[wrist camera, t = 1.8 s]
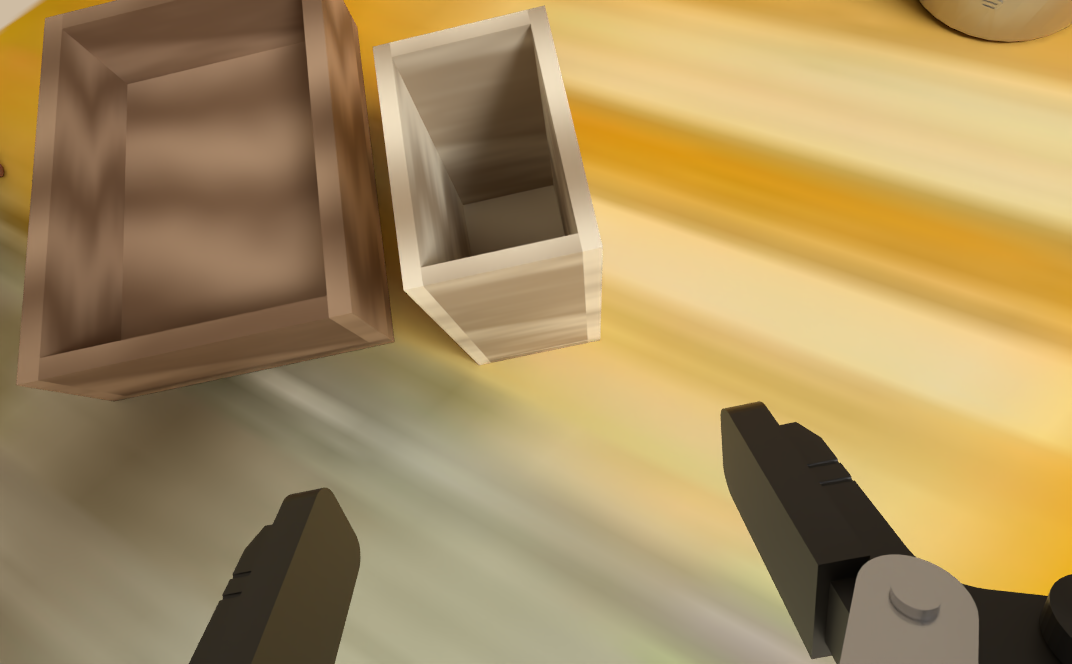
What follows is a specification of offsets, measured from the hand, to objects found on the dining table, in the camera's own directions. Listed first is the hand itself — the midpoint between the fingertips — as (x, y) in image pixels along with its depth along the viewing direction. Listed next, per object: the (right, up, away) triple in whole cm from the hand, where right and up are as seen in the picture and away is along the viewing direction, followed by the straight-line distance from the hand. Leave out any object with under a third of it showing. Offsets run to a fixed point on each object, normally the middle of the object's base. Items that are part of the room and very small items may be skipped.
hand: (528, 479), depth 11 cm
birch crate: (0, +6, +17) cm, 18 cm away
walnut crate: (-16, +10, +20) cm, 27 cm away
